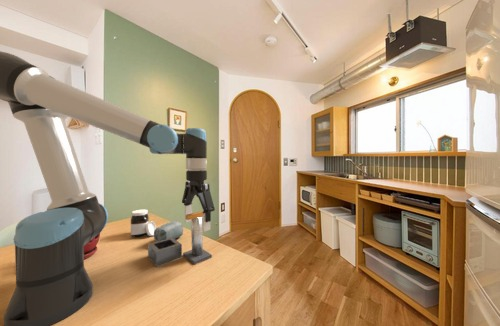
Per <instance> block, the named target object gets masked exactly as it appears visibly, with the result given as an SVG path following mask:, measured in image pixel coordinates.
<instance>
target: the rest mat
mask: <svg viewBox="0 0 500 326" xmlns="http://www.w3.org/2000/svg"><path fill="white" fill-rule="evenodd" d="M182 257H184V258H186V259H187V260H188V261H189V262H190V263H192V264H193V265H197V264H199V263H202V262H205V261H206V260H210V259H211V258H212V257H213V255H212V254H211V253H210V252H208V251H206V250H205V249H203V254H202V255H200V256H192V249H191V250H187V251H185V252H182Z"/></svg>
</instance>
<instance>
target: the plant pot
mask: <svg viewBox="0 0 500 326" xmlns="http://www.w3.org/2000/svg"><path fill="white" fill-rule="evenodd" d="M100 236H101V232H100V233H99V234H98V235H97V236H95V237H94V238H93V239H92V240H90V241H89V242H88V243H87V244H86V245H84V260H85V259H87V258H89V257H91V256H93V255H95V254H96V252H97V251H98V247H97V244H98V243H99V240H100Z"/></svg>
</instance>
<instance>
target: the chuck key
mask: <svg viewBox="0 0 500 326" xmlns="http://www.w3.org/2000/svg"><path fill="white" fill-rule="evenodd" d="M203 211H204V210H201V211H197V212H192V213H191V214H187V215H185V214H184V217H185V216H186V220H190V219H191V221H190V227H191V229H190V230H191V250H192V256H200V255H202V254H203V250H204V248H203V247H204V243H203V213H202V212H203Z"/></svg>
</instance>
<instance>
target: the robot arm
mask: <svg viewBox="0 0 500 326" xmlns="http://www.w3.org/2000/svg"><path fill="white" fill-rule="evenodd" d="M0 100H2V101H5V102H7V103H8V106H9V108H10V111H11V113H12V116H13V118H15V119H16V120H17V121H18V120H19V121H20V122H22V123H23V124H24V127H25V129H26V132H27V135H28V138H29V141H30V144H31V147H32V149H33V151H34V155H35V156H36V157H35V158H36V161H37V163H38V165H39V168H40V171H41V175H42V177H43V180H44V183H45V185H46V188H47V191H48V194H49V196H50V200H51V202H50V204H49V205H48V206H47V207H46V210H45V211H39V212H36V213H33V214H31V215H29V216H26V217H24V218H23V219H21V220H20V221H19V222H18V223H17V224H16V226H15V234H14V237H13V243H14V261H15V290H14V291H13V294H12V297H11V298H10V301H9V304H8V306H7V307H6V308H7V309H6V310H5V313H4V316H3V326H51V325H53V324H56V323H59V322H60V321H63V320H64V319H66V318H68V317H69V316H71V315H73V314H74V313H76V312H78V311H79V310H80V309H82V308H83V307H84V306H85V305H86V304H87V303H88V302H89V301H90V300H91V298H92V297H93V293H94V292H93V290H94V289H93V285H94V284H93V282H92V280H91V279H90V276H89V275H88V274H89V273H88V272H87V270H86V268H85V263H84V260H85V259H84V245H86V244H87V243H88V242H89V241H90V240H92V239H93V238H94V237H95V236H97V235H98V234H99V233H100V234H101V233H102V231H103V230H104V228H105V227H106V226H107V223H108V220H109V213H108V210H107V208H106V206H104V205H103V204H101V203H100V202H99V200H98V197H97V195H96V194H95V193H92V192H90V191H89V188H88V186H87V183H86V181H85V180H86V179H85V176H84V173H83V171H82V167H81V164H80V162H79V159H78V156H77V153H76V150H75V147H74V144H73V141H72V138H71V135H70V132H69V130H68V127H67V126H68V125H67V123H66V119H67V118H68V117H69V118H71V119H73V120H76V121H79V122H81V123H84V124H87V125H90V126H92V127H95V128H97V129H99V130H102V131H105V132H108V133H110V134H113V135H115V136H117V137H118V136H119V137H120V138H123V139H126V140H129V141H130V142H131V141H132V142H134V143H137V144H139V145H142V146H144V147H147V148H149V152H150V153H151V154H155V155H185V169H186V171H185V174H186V175H185V176H186V177H185V179H186V180H185V185H184V191H183V194H182V199H181V203H182V204H183V206H184V223H191V219H190V220H186V216H185V215H187V214H191V213H193V201H194V198H195V197H197V198H198V200H199V201H200V202H199V204H200V205H201V207H202V211H203V212H202V213H203V216H202V233H204V232H207V231H211V219H212V218H211V217H212V216H211V215H212V212H214V211H215V206H214V202H213V198H212V194H211V191H210V183H205V181H207V179H208V178H207V177H208V171H207V164H208V161H207V156H208V155H207V154H208V153H207V149H208V145H207V144H208V140H207V132H206V130H205V129H203V128H198V127H189V128H188V127H187V128H186V129H185V132H184V133H177V132H176V130H175V129H173V128H172V127H170V126H169V125H167V124H160V123H158V122H157V121H153V120H151V119H149V118H146V117H145V116H143V115H140V114H137V113H135V112H133V111H130V110H129V109H125V108H123V107H121V106H118V105H117V104H114V103H112V102H110V101H107V100H104V99H102V98H101V97H97V96H95V95H93V94H91V93H89V92H85V91H84V90H81V89H79V88H78V87H77V88H76V87H74V86H72V85H69V84H67V83H64V82H63V81H60V80H57V79H56V78H54V77H52V76H51V75H49V73H48V72H47V71H46V70H45V69H43V68H41V67H38V66H36V65H34V64H31V63H29V62H28V61H27V60H25V59H23V58H21V57H19V56H18V55H15V54H12V53H10V52H7V51H5V52H4V51H1V50H0Z"/></svg>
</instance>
